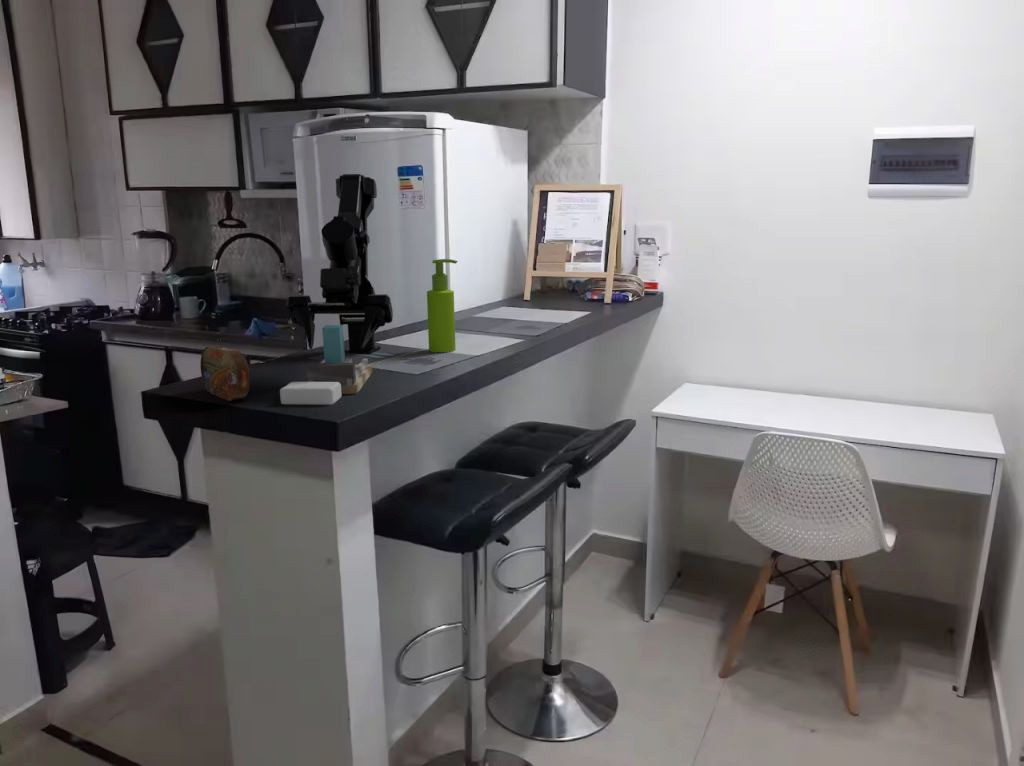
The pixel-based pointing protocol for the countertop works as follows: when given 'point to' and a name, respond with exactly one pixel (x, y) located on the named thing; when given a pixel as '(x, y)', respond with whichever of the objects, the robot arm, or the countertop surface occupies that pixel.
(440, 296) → the soap dispenser
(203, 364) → the tin
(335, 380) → the guide rail
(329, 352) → the sliding block
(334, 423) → the countertop surface
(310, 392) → the soap
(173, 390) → the countertop surface
